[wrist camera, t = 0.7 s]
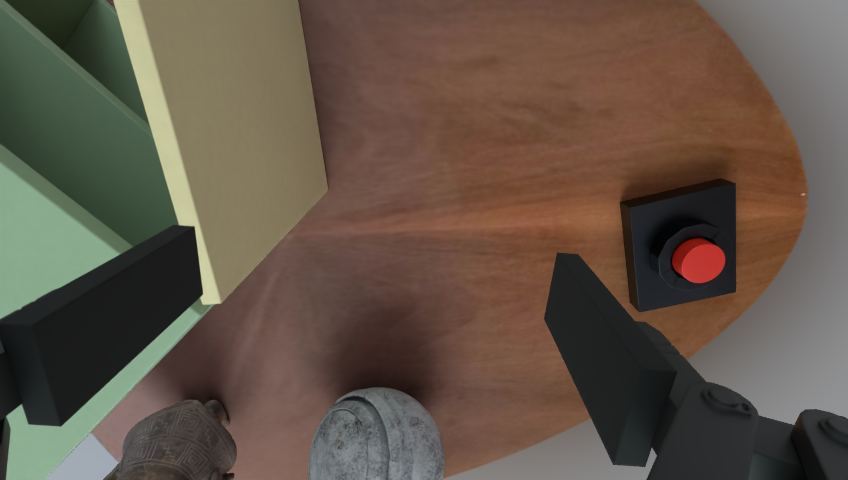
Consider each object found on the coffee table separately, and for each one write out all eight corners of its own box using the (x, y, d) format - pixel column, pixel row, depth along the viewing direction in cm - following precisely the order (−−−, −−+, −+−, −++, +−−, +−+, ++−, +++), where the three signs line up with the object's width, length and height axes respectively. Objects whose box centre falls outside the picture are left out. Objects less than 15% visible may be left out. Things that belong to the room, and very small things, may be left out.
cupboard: (95, -11, 37) (-415, -154, 15) (319, 195, 43) (201, 315, 21) (0, 135, 42) (-501, 196, 19) (216, 303, 48) (27, 497, 26)
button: (670, 243, 41) (680, 249, 39) (713, 233, 41) (725, 240, 39) (672, 279, 42) (682, 287, 41) (714, 270, 42) (725, 278, 40)
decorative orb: (372, 340, 49) (349, 442, 35) (466, 402, 52) (480, 519, 38) (303, 418, 54) (259, 537, 40) (395, 472, 57) (383, 600, 43)
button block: (619, 201, 43) (637, 213, 40) (721, 178, 42) (749, 187, 39) (629, 302, 47) (647, 321, 44) (722, 283, 46) (748, 300, 43)
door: (349, -131, 34) (199, -537, 12) (385, 186, 43) (337, 296, 21) (266, -123, 34) (-36, -504, 12) (319, 191, 43) (201, 305, 21)
